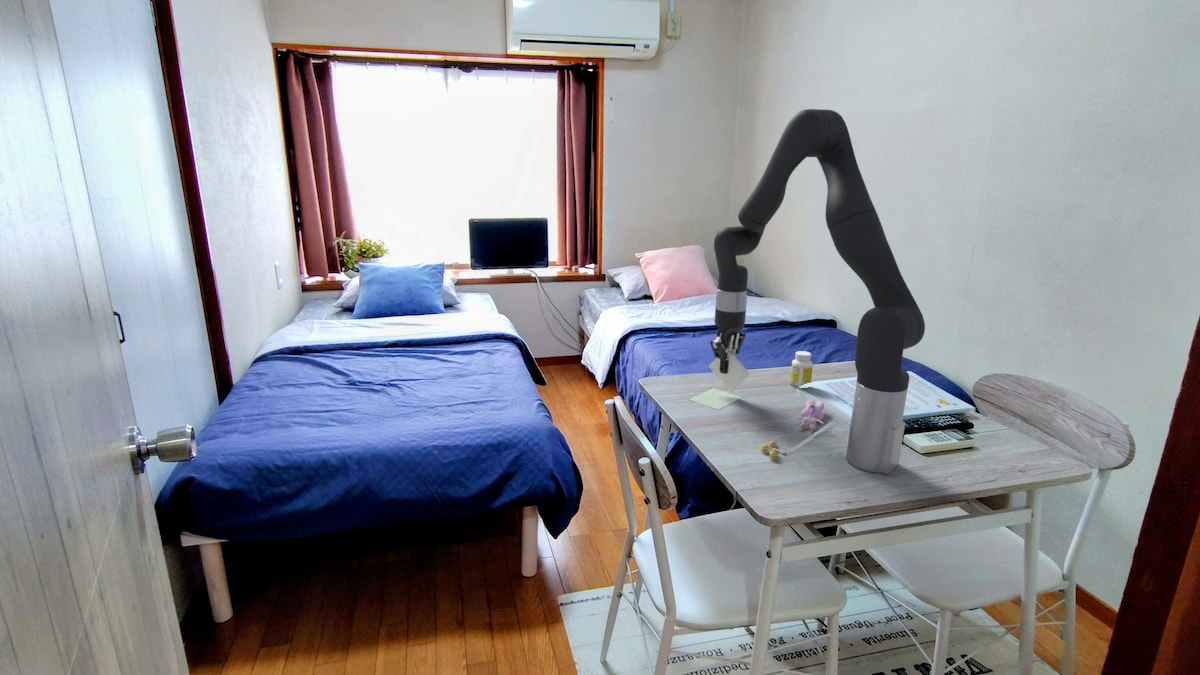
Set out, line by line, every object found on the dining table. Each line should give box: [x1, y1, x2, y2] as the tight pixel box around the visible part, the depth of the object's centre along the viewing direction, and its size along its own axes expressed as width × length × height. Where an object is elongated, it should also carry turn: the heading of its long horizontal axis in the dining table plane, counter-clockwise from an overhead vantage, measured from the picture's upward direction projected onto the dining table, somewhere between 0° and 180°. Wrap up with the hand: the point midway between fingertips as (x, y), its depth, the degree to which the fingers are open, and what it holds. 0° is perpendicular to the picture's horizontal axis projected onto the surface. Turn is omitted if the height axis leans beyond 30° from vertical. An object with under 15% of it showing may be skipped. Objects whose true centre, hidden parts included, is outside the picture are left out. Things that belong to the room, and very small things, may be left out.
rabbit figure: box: [795, 398, 825, 436], centre depth 141 cm, size 6×6×15 cm
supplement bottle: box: [789, 350, 814, 390], centre depth 162 cm, size 5×5×10 cm
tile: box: [708, 351, 751, 393], centre depth 154 cm, size 7×2×9 cm
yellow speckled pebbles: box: [760, 440, 787, 462], centre depth 127 cm, size 5×5×2 cm
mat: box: [688, 387, 743, 411], centre depth 153 cm, size 18×16×1 cm
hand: (725, 371), depth 155 cm, fingers closed on tile, 1 cm apart
